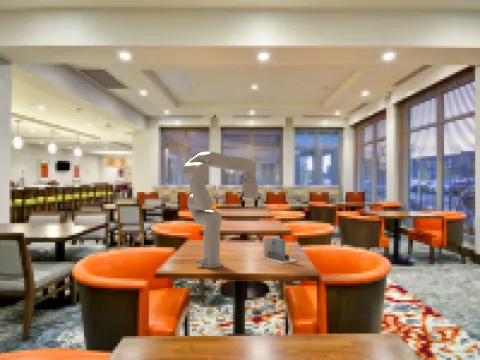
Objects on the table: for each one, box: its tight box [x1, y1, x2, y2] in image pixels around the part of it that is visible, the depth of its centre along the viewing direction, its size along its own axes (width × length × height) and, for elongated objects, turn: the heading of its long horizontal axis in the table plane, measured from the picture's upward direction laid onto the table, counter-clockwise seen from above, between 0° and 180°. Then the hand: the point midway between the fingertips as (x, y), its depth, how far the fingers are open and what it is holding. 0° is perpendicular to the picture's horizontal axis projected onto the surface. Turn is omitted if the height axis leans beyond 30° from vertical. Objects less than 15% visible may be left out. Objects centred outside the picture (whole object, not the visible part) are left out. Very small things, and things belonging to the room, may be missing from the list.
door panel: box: [272, 238, 286, 260], centre depth 191 cm, size 4×10×12 cm, turn 31°
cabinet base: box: [262, 235, 298, 265], centre depth 191 cm, size 12×18×13 cm, turn 32°
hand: (249, 206), depth 203 cm, fingers open, 9 cm apart
